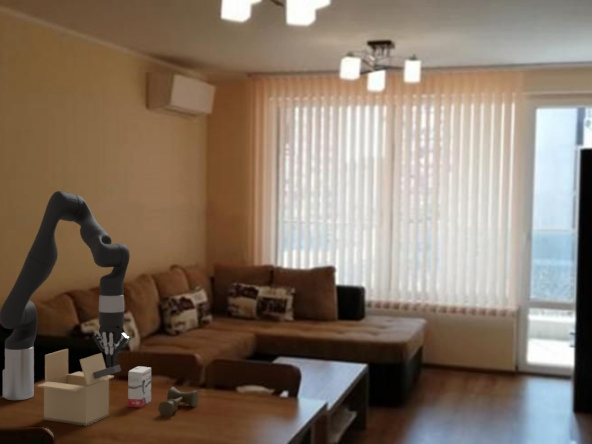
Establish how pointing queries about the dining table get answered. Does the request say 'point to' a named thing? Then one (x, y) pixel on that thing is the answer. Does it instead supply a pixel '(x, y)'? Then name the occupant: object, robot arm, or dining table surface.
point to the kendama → (177, 401)
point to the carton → (72, 393)
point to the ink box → (139, 386)
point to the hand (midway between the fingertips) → (111, 366)
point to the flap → (96, 369)
